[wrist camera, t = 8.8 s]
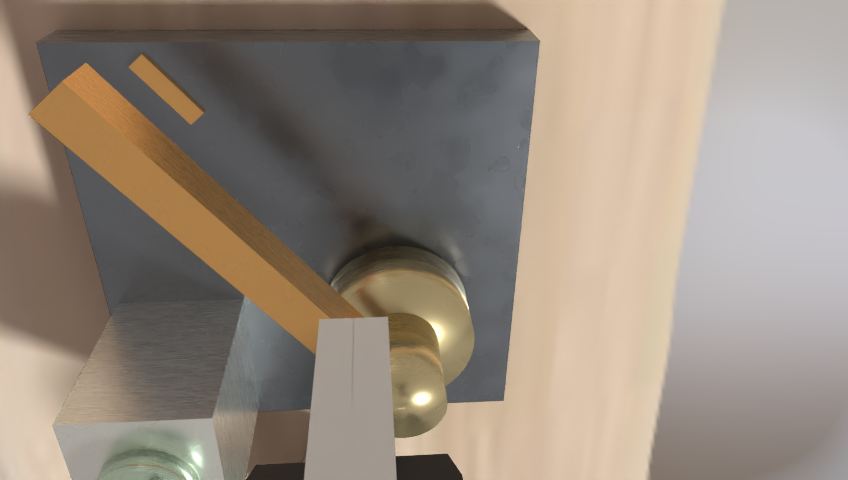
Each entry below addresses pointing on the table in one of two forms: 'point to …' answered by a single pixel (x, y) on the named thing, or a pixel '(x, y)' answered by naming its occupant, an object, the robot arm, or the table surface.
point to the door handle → (274, 250)
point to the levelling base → (288, 218)
